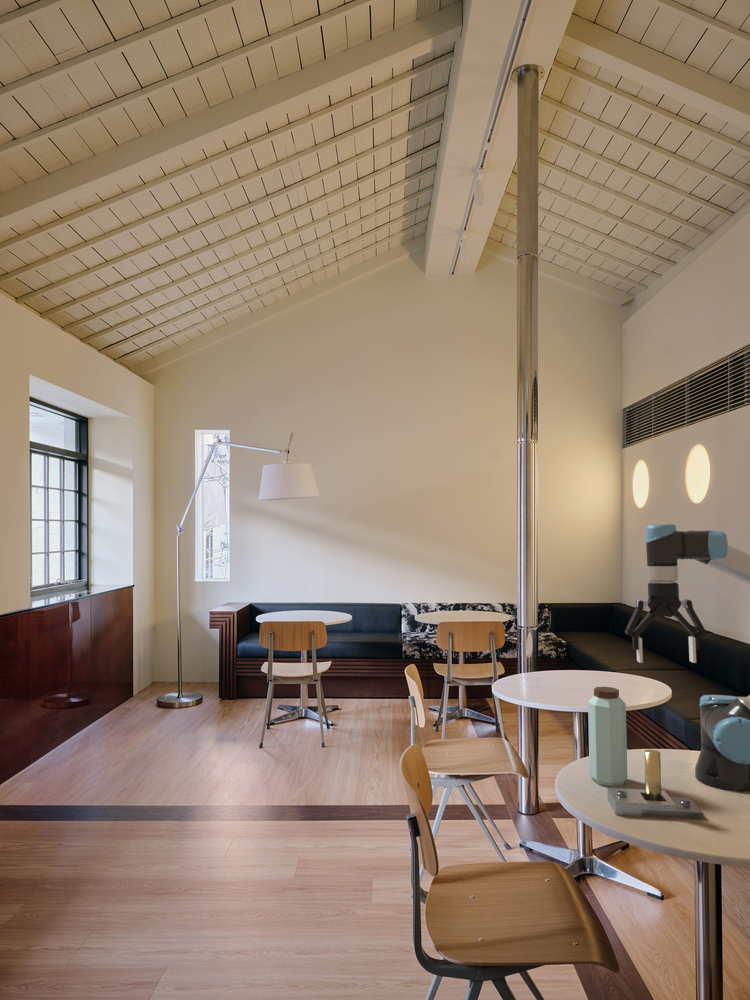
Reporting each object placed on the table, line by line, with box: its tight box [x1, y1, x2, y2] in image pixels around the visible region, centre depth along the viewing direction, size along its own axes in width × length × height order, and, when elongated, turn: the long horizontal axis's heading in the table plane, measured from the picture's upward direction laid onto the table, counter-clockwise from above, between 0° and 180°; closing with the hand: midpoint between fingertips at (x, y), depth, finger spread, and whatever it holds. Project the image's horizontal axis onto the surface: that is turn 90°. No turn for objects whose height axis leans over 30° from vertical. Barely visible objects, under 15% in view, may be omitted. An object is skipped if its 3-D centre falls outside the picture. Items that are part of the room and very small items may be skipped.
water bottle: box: [587, 686, 628, 787], centre depth 182 cm, size 10×10×25 cm
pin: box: [644, 749, 662, 801], centre depth 163 cm, size 4×4×14 cm
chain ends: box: [607, 787, 703, 820], centre depth 163 cm, size 20×9×4 cm, turn 82°
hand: (666, 662), depth 175 cm, fingers open, 13 cm apart
